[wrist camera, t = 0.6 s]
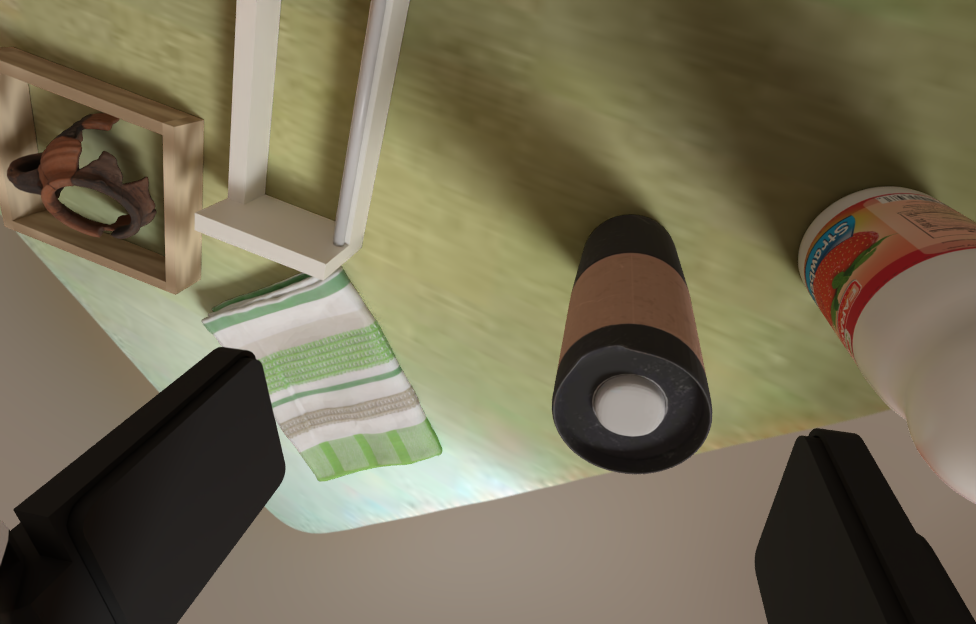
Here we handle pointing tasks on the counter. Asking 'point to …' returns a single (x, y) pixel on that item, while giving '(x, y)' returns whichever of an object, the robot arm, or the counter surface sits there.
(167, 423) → the robot arm
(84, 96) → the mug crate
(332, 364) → the dish towel
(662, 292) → the travel mug
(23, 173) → the pottery mug
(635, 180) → the counter surface
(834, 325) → the fruit juice
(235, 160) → the frame
